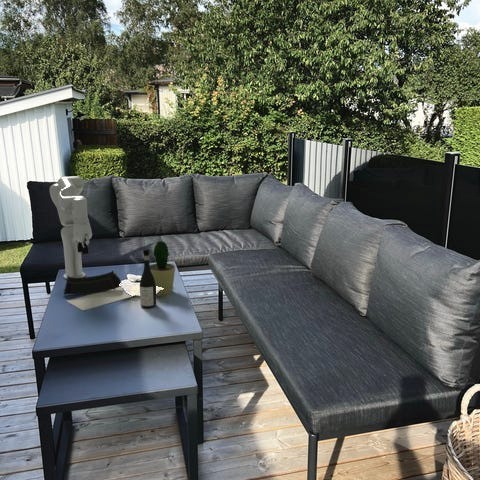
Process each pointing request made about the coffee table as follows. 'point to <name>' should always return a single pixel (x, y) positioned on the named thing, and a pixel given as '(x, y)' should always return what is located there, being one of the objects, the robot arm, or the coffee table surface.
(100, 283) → the magazine
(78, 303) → the mat
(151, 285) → the wine bottle
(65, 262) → the robot arm
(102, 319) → the coffee table surface
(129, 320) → the coffee table surface
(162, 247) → the potted cactus
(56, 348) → the coffee table surface
